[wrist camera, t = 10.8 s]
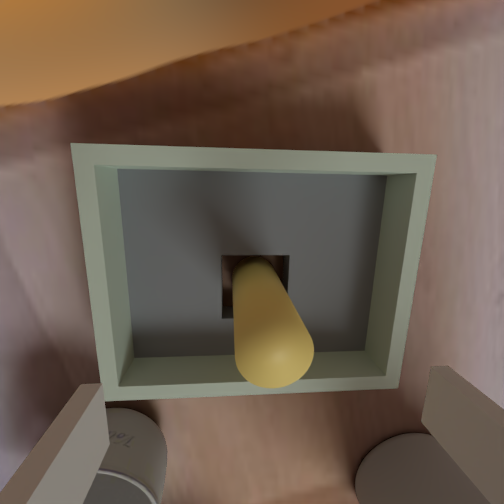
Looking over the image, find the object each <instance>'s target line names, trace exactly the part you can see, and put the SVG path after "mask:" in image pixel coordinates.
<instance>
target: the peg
mask: <svg viewBox="0 0 504 504" xmlns="http://www.w3.org/2000/svg"><path fill="white" fill-rule="evenodd" d="M232 287H233V317H234V348H235V362H236V366H237V368H238V370H239V372H240V373H241V375H242V376H243V377H244V378H245V379H246V380H247V381H249V382H250V383H252V384H254V385H256V386H259V387H263V388H280V387H284V386H287V385H290V384H292V383H294V382H295V381H297V380H298V379H300V378H301V377H302V376H303V375H304V374H305V373H306V371H307V370H308V369H309V367H310V365H311V363H312V360H313V356H314V345H313V341H312V338H311V336H310V334H309V332H308V330H307V329H306V327H305V325H304V323H303V321H302V319H301V318H300V316H299V314H298V312H297V310H296V309H295V307H294V305H293V303H292V301H291V299H290V298H289V296H288V294H287V292H286V290H285V288H284V287H283V285H282V283H281V281H280V279H279V277H278V276H277V274H276V272H275V270H274V268H273V266H272V265H271V264H270V263H269V262H268V261H267V260H266V259H264V258H261V257H257V256H251V257H247V258H245V259H243V260H241V261H240V262H239V263H238V264H237V265H236V266H235V268H234V270H233V274H232Z"/></svg>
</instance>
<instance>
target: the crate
mask: <svg viewBox="0 0 504 504" xmlns="http://www.w3.org/2000/svg"><path fill="white" fill-rule="evenodd" d="M70 144H71V152H72V160H73V168H74V176H75V184H76V192H77V200H78V208H79V216H80V223H81V231H82V239H83V247H84V255H85V263H86V271H87V279H88V287H89V295H90V303H91V310H92V318H93V326H94V334H95V342H96V350H97V358H98V366H99V374H100V382H101V383H103V391H104V399H105V401H125V400H147V399H170V398H192V397H215V396H238V395H260V394H283V393H305V392H328V391H351V390H373V389H396V388H398V385H399V379H400V373H401V367H402V361H403V355H404V349H405V343H406V337H407V331H408V325H409V319H410V313H411V307H412V301H413V295H414V289H415V283H416V277H417V271H418V265H419V259H420V253H421V247H422V241H423V235H424V229H425V223H426V217H427V211H428V205H429V199H430V193H431V187H432V181H433V175H434V169H435V163H436V157H437V155H432V154H401V153H369V152H338V151H306V150H275V149H243V148H212V147H181V146H149V145H118V144H86V143H70ZM222 255H284V256H283V277H282V285H283V287H284V288H285V290H286V292H287V294H288V296H289V298H290V299H291V301H292V303H293V305H294V307H295V309H296V310H297V312H298V314H299V316H300V318H301V319H302V321H303V323H304V325H305V327H306V329H307V330H308V332H309V334H310V336H311V338H312V341H313V345H314V356H313V360H312V363H311V365H310V367H309V369H308V370H307V371H306V373H305V374H304V375H303V376H302V377H301V378H300V379H298V380H297V381H295V382H294V383H292V384H290V385H287V386H284V387H280V388H263V387H259V386H256V385H254V384H252V383H250V382H249V381H247V380H246V379H245V378H244V377H243V376H242V375H241V373H240V372H239V370H238V368H237V366H236V362H235V348H234V317H233V306H222Z"/></svg>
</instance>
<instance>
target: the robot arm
mask: <svg viewBox="0 0 504 504" xmlns="http://www.w3.org/2000/svg"><path fill="white" fill-rule="evenodd" d="M421 422H422V424H423V425H424V426H425V427H426V428H427V429H428V431H429V432H430V433H431V434H432V435H433V437H434V438H435V439H436V440H437V441H438V442H439V444H440V445H441V446H442V447H443V448H444V449H445V451H446V452H447V453H448V454H449V455H450V457H451V458H452V459H453V460H454V461H455V462H456V464H457V465H458V466H459V467H460V468H461V469H462V471H463V472H464V473H465V474H466V475H467V476H468V478H469V479H470V480H471V481H472V482H473V484H474V485H475V486H476V487H477V488H478V489H479V491H480V492H481V493H482V494H483V495H484V496H485V498H486V499H487V500H488V501H489V502H490V504H504V409H502V408H501V407H500V406H499V405H497V404H496V403H495V402H493V401H492V400H491V399H490V398H488V397H487V396H486V395H485V394H483V393H482V392H481V391H479V390H478V389H477V388H476V387H474V386H473V385H472V384H471V383H469V382H468V381H467V380H465V379H464V378H463V377H462V376H460V375H459V374H458V373H456V372H455V371H454V370H453V369H451V368H450V367H449V366H434V367H431V370H430V375H429V381H428V386H427V392H426V397H425V402H424V408H423V413H422V419H421ZM109 445H110V442H109V433H108V425H107V416H106V408H105V399H104V391H103V383H94V384H81V385H80V386H79V387H78V389H77V390H76V391H75V393H74V394H73V395H72V397H71V398H70V399H69V401H68V402H67V403H66V405H65V406H64V407H63V409H62V410H61V412H60V413H59V414H58V416H57V417H56V418H55V420H54V421H53V422H52V424H51V425H50V426H49V428H48V429H47V430H46V432H45V433H44V434H43V436H42V437H41V439H40V440H39V441H38V443H37V444H36V445H35V447H34V448H33V449H32V451H31V452H30V453H29V455H28V456H27V457H26V459H25V460H24V461H23V463H22V464H21V466H20V467H19V468H18V470H17V471H16V472H15V474H14V475H13V476H12V478H11V479H10V480H9V482H8V483H7V484H6V486H5V487H4V488H3V490H2V491H1V493H0V504H83V502H84V500H85V498H86V496H87V493H88V491H89V489H90V487H91V485H92V482H93V480H94V478H95V476H96V473H97V471H98V469H99V467H100V465H101V462H102V460H103V458H104V456H105V453H106V451H107V449H108V447H109Z"/></svg>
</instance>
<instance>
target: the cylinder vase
mask: <svg viewBox="0 0 504 504" xmlns="http://www.w3.org/2000/svg"><path fill="white" fill-rule="evenodd" d="M355 491H356V496H357V499H358V501H359V504H490V502H489V501H488V500H487V499H486V498H485V496H484V495H483V494H482V493H481V492H480V491H479V489H478V488H477V487H476V486H475V485H474V484H473V482H472V481H471V480H470V479H469V478H468V476H467V475H466V474H465V473H464V472H463V471H462V469H461V468H460V467H459V466H458V465H457V464H456V462H455V461H454V460H453V459H452V458H451V457H450V455H449V454H448V453H447V452H446V451H445V449H444V448H443V447H442V446H441V445H440V444H439V442H438V441H437V440H436V439H435V438H434V437H433V436H432V435H429V434H423V433H407V434H402V435H398V436H395V437H392V438H390V439H388V440H386V441H384V442H382V443H380V444H379V445H378V446H376V447H375V448H374V449H373V450H371V451H370V452H369V453H368V455H367V456H366V457H365V458H364V460H363V461H362V463H361V464H360V466H359V469H358V471H357V474H356V479H355Z"/></svg>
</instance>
